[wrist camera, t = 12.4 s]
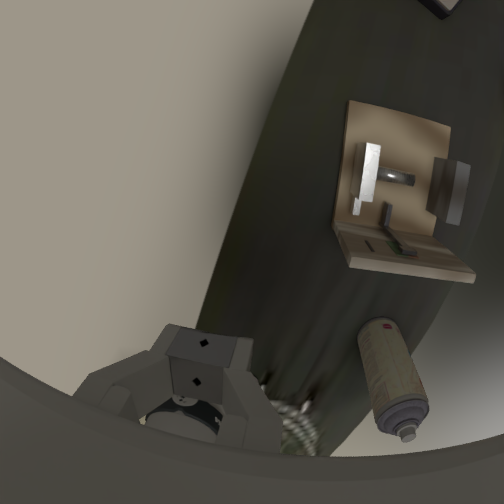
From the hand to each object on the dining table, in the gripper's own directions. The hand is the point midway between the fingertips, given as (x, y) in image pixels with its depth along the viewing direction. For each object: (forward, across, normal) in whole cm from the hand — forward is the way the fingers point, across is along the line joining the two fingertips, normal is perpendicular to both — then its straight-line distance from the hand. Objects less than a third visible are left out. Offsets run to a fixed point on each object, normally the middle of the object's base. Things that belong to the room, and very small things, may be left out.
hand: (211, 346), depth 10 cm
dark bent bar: (+27, +14, 0) cm, 30 cm away
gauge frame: (+29, +15, +5) cm, 33 cm away
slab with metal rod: (+27, +13, +4) cm, 30 cm away
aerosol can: (+29, +19, -19) cm, 40 cm away
